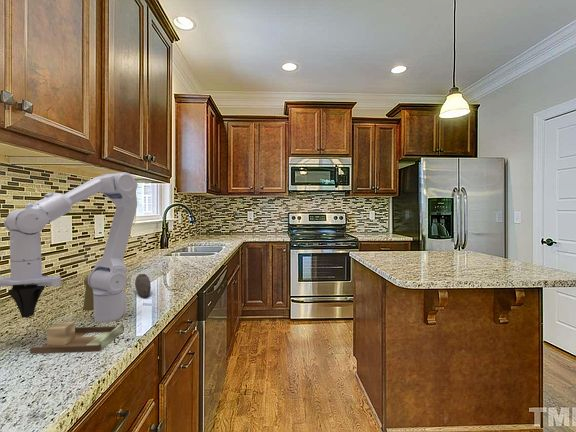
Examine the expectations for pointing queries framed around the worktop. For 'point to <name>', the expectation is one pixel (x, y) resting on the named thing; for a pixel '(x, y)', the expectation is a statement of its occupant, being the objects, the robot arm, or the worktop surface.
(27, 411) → the worktop surface
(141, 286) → the perforated stone tool
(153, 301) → the worktop surface
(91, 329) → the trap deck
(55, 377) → the worktop surface
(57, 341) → the maple cube
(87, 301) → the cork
